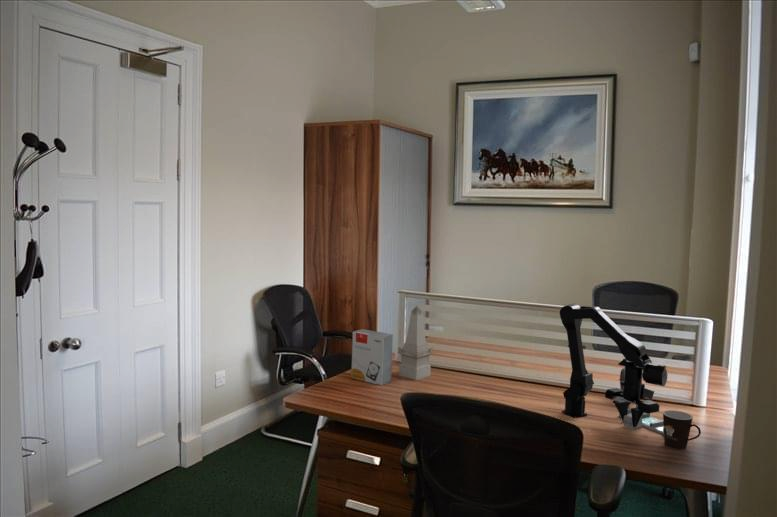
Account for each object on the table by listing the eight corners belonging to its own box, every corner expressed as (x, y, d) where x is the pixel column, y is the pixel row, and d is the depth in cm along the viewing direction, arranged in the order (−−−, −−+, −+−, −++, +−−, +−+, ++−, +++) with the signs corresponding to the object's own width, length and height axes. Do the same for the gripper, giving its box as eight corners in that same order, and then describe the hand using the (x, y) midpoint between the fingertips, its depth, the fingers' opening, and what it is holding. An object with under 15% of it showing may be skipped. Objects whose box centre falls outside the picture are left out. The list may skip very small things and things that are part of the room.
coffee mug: (655, 440, 208) (657, 410, 207) (681, 440, 209) (683, 410, 208) (674, 454, 197) (676, 423, 196) (701, 454, 198) (704, 423, 197)
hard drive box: (350, 379, 267) (351, 331, 265) (360, 374, 274) (361, 328, 272) (382, 385, 259) (383, 337, 257) (392, 381, 266) (393, 333, 263)
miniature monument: (431, 375, 275) (434, 306, 272) (416, 380, 268) (418, 309, 265) (412, 370, 282) (415, 302, 279) (397, 375, 274) (399, 305, 271)
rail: (665, 435, 213) (665, 429, 212) (618, 416, 230) (619, 410, 230) (682, 432, 216) (682, 425, 216) (635, 413, 234) (635, 407, 234)
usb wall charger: (641, 427, 219) (642, 416, 219) (628, 431, 216) (629, 419, 215) (631, 424, 223) (632, 412, 222) (618, 427, 219) (619, 416, 219)
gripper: (672, 385, 213) (669, 430, 214) (628, 370, 229) (625, 413, 231) (648, 388, 208) (645, 435, 209) (605, 373, 224) (602, 417, 226)
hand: (629, 424), depth 219 cm, fingers closed on usb wall charger, 4 cm apart
